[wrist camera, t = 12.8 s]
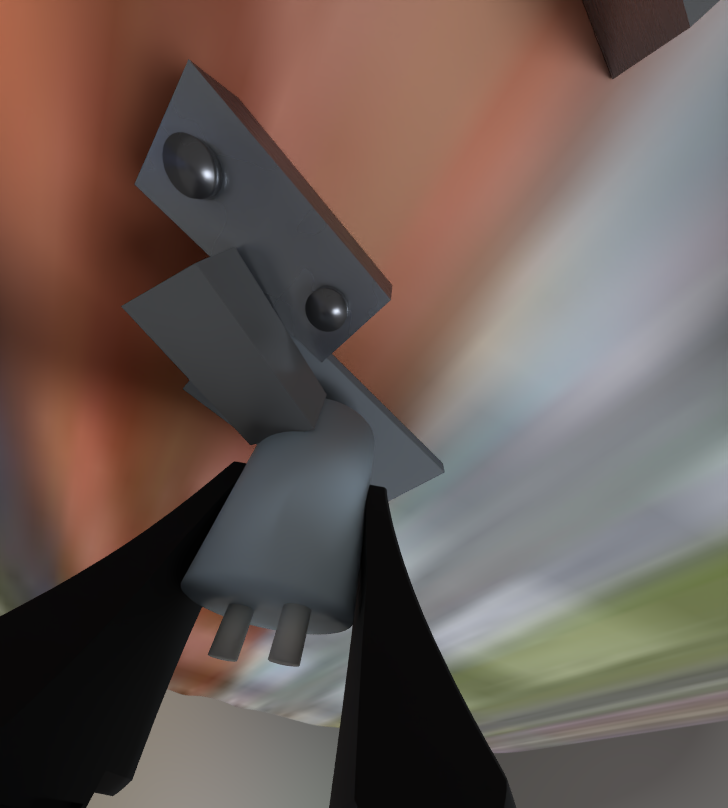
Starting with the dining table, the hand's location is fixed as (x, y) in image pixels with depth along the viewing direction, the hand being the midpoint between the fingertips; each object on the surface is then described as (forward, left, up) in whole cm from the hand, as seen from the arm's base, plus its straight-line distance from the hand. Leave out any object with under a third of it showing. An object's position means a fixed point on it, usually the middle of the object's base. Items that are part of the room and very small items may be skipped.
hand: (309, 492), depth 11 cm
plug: (-3, +2, -2) cm, 4 cm away
